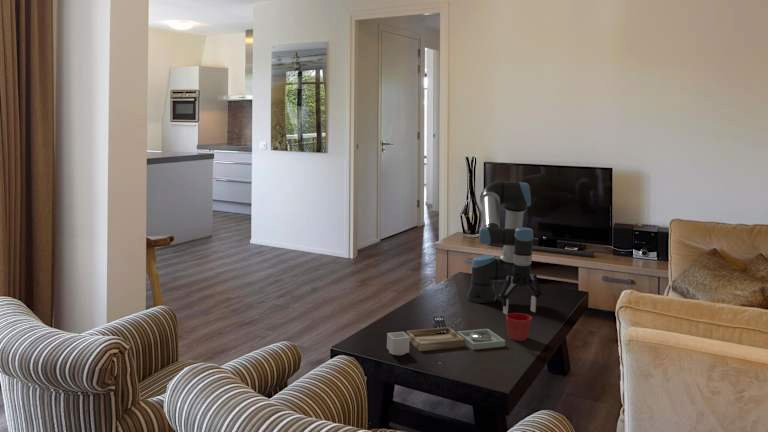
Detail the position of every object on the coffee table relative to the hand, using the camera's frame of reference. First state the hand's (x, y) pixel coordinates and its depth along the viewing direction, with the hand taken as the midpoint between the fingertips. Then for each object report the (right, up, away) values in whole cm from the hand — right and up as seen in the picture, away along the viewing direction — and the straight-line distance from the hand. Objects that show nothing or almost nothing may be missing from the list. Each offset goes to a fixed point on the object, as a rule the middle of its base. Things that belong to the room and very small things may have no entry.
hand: (519, 312), depth 255 cm
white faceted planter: (-53, -13, -18) cm, 57 cm away
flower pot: (0, -12, +2) cm, 12 cm away
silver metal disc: (-17, -10, -4) cm, 20 cm away
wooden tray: (-37, -12, -5) cm, 39 cm away
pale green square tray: (-17, -12, -4) cm, 21 cm away
